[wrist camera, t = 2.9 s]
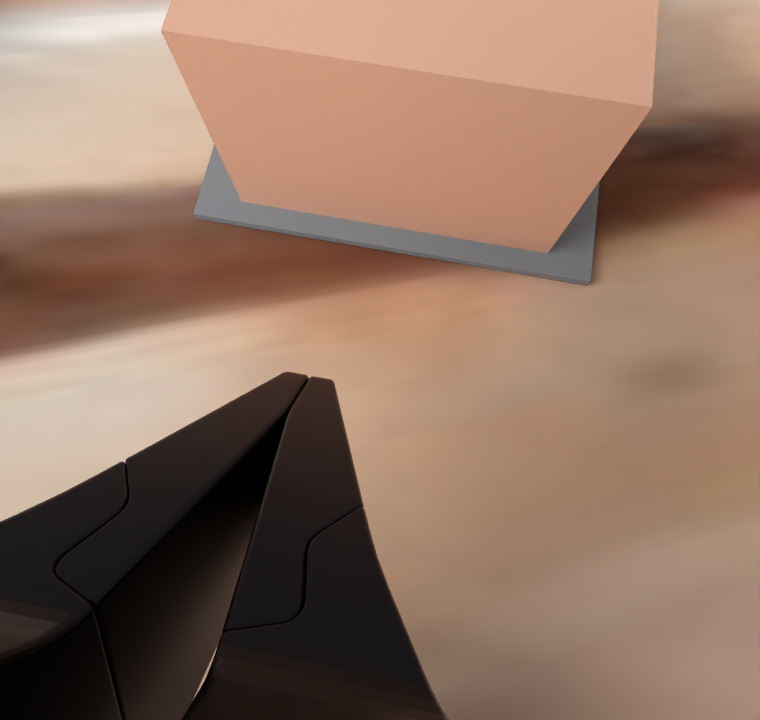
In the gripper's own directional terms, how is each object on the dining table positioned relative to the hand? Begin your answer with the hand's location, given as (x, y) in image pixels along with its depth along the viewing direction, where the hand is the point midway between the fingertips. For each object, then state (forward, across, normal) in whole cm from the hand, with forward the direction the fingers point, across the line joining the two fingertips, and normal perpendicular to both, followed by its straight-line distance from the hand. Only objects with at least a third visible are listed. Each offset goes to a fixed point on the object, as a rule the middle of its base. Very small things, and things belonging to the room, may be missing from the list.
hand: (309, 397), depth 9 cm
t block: (+20, 0, -3) cm, 21 cm away
